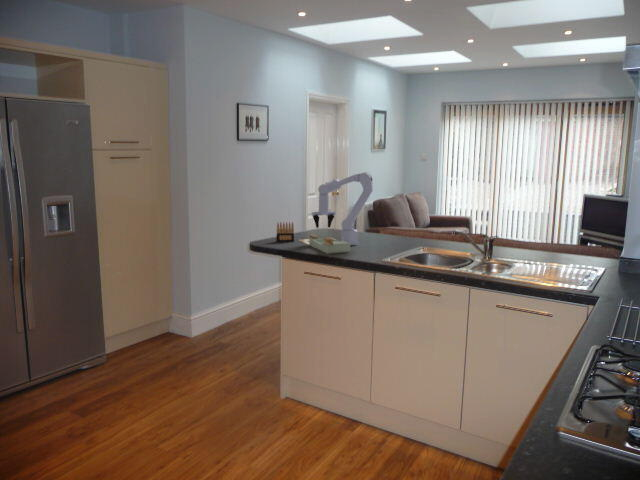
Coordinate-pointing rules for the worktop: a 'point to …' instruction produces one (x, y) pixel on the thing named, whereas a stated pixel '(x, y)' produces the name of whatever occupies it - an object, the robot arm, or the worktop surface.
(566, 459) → the worktop surface
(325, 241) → the block
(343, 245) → the flat box
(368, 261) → the worktop surface
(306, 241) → the lid
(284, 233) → the ammunition clip
